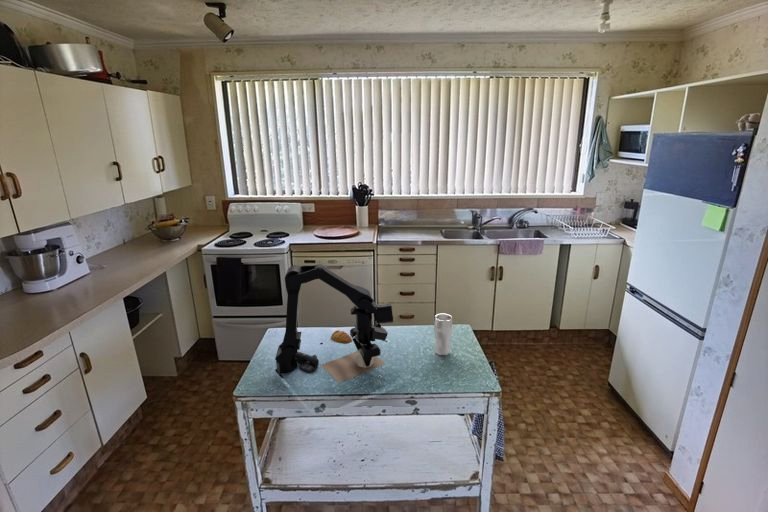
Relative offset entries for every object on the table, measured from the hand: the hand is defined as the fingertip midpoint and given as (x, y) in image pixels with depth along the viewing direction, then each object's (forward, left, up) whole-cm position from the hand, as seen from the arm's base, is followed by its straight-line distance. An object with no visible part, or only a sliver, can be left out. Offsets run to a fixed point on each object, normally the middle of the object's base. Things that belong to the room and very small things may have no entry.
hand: (365, 361), depth 145 cm
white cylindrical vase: (+30, -10, -2) cm, 32 cm away
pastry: (+3, +22, -2) cm, 22 cm away
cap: (0, 0, 0) cm, 0 cm away
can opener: (-19, +15, -2) cm, 24 cm away
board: (-4, +2, -2) cm, 5 cm away
